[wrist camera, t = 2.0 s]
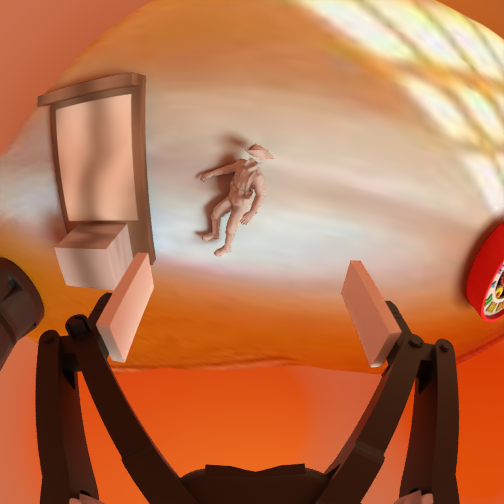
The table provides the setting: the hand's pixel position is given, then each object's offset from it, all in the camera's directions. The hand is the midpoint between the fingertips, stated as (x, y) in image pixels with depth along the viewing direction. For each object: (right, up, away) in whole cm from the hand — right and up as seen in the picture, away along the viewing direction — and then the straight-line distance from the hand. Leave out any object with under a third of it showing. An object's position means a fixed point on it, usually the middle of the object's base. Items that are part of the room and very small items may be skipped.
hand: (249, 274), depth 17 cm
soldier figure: (-2, +8, +12) cm, 15 cm away
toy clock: (+49, -1, +19) cm, 52 cm away
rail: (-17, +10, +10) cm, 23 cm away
